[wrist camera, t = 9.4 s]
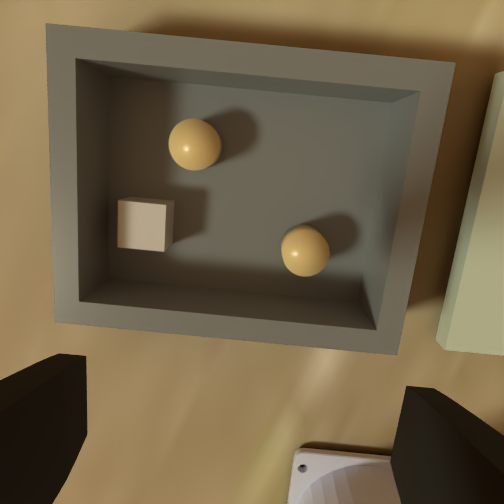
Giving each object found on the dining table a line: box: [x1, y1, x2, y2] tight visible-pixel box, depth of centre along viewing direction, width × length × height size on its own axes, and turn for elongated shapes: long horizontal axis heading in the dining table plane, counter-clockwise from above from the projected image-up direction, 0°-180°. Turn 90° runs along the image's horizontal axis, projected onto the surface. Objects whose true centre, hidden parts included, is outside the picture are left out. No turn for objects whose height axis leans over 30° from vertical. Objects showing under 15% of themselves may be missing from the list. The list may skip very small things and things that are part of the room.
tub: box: [46, 23, 456, 355], centre depth 16 cm, size 11×14×4 cm
